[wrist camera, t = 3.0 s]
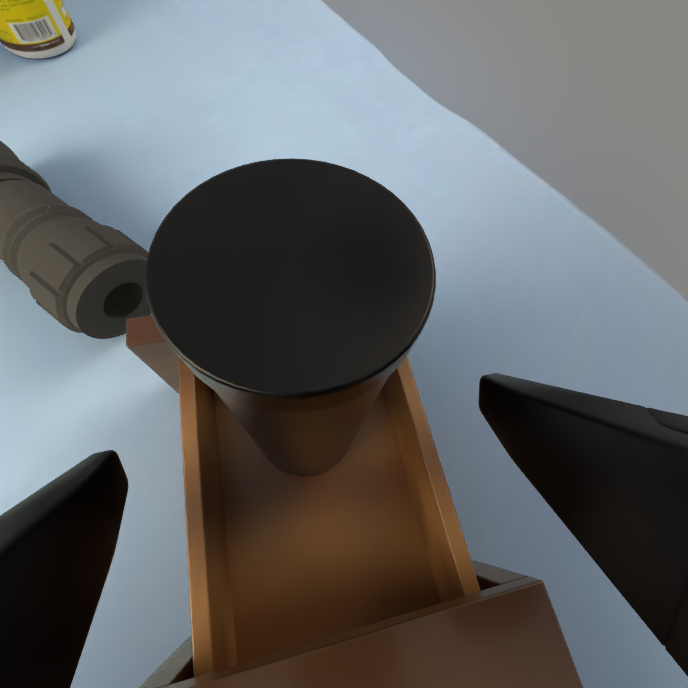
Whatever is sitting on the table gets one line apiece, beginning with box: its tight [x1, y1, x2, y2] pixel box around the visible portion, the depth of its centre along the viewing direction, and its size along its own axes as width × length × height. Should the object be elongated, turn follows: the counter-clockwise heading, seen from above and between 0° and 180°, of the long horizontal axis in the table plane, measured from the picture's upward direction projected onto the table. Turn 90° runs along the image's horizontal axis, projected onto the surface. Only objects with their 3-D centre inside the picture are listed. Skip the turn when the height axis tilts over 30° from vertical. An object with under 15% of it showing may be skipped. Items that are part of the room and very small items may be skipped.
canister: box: [145, 159, 436, 476], centre depth 12 cm, size 5×5×13 cm
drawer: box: [126, 315, 481, 677], centre depth 15 cm, size 14×12×6 cm
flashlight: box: [0, 141, 151, 339], centre depth 19 cm, size 15×5×5 cm, turn 54°
